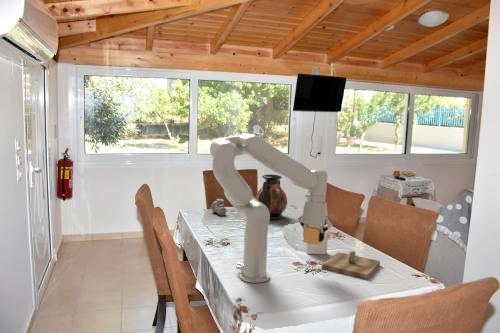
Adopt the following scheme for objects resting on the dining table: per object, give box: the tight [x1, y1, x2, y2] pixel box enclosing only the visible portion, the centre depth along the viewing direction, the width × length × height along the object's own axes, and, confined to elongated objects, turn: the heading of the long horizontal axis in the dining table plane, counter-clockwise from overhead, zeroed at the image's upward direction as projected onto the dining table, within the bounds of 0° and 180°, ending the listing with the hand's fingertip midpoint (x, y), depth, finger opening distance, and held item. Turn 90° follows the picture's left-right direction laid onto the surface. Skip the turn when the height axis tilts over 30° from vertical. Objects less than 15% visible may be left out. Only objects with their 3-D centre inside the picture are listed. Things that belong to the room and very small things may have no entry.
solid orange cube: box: [302, 225, 323, 245], centre depth 169 cm, size 6×6×6 cm
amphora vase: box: [255, 174, 288, 221], centre depth 260 cm, size 22×22×28 cm
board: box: [321, 250, 381, 280], centre depth 177 cm, size 20×20×7 cm
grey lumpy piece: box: [210, 198, 228, 217], centre depth 267 cm, size 12×8×10 cm
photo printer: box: [305, 230, 329, 255], centre depth 194 cm, size 10×4×12 cm, turn 89°
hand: (313, 239), depth 170 cm, fingers closed on solid orange cube, 6 cm apart
